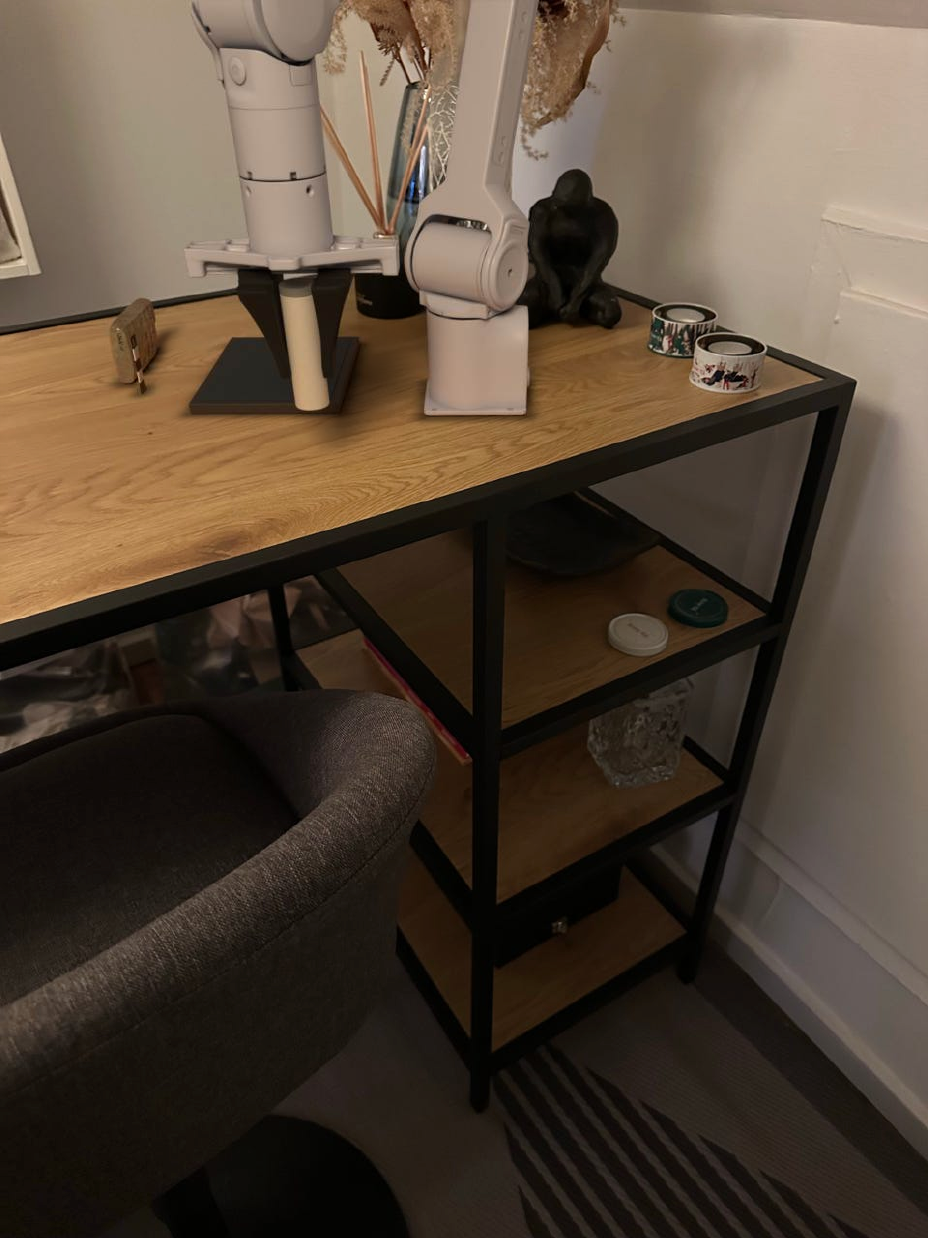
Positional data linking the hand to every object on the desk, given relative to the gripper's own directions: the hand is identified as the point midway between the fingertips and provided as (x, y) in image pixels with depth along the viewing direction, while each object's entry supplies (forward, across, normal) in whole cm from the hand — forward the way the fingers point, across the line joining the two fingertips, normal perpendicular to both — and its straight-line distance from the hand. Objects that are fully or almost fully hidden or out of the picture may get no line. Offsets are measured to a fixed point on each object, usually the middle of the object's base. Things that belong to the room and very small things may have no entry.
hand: (308, 373), depth 65 cm
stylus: (+2, 0, 0) cm, 2 cm away
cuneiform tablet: (+9, -22, +24) cm, 34 cm away
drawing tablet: (+9, -7, +22) cm, 25 cm away
